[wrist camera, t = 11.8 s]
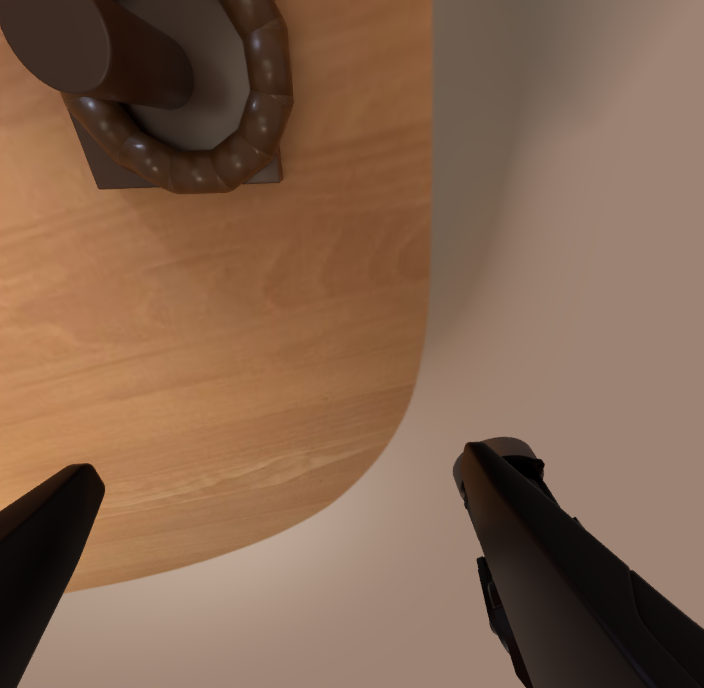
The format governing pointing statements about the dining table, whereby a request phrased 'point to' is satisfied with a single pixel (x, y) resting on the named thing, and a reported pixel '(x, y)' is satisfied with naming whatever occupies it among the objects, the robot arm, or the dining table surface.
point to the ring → (233, 152)
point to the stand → (140, 70)
